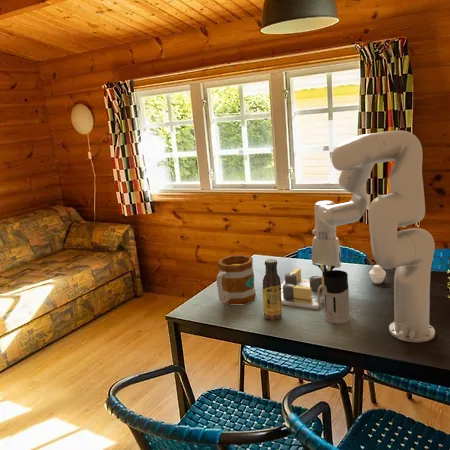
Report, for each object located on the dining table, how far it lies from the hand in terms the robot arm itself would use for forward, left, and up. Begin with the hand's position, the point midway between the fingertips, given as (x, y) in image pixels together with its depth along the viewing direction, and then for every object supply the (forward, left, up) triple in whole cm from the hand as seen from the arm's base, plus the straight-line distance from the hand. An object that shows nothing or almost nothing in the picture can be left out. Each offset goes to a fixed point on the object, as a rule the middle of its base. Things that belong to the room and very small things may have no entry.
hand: (327, 280), depth 172 cm
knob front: (-15, +6, -1) cm, 17 cm away
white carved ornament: (+12, -16, -3) cm, 20 cm away
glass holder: (-25, -10, -3) cm, 27 cm away
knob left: (-2, +13, -1) cm, 13 cm away
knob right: (-4, 0, -1) cm, 4 cm away
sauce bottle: (-29, +9, -3) cm, 31 cm away
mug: (-22, +28, -3) cm, 36 cm away
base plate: (-8, +7, -3) cm, 11 cm away
